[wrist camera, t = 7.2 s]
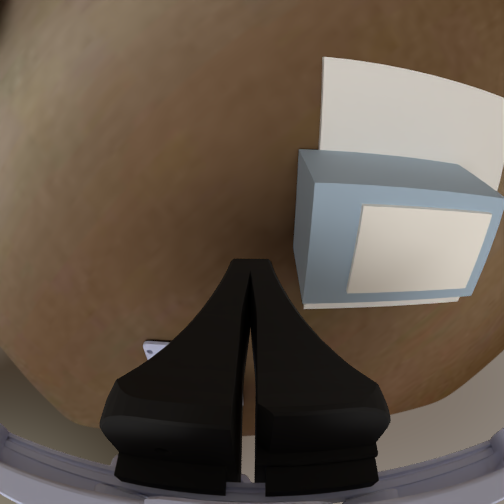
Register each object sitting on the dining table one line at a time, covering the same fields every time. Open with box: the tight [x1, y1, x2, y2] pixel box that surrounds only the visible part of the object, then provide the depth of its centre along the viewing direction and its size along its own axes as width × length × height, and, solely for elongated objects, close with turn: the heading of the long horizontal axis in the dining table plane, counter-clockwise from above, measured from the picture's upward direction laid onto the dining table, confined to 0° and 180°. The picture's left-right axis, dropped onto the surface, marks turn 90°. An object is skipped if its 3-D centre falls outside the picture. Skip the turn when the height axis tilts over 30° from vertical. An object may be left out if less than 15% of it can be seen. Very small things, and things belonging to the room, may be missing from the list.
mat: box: [303, 57, 504, 309], centre depth 18 cm, size 16×13×1 cm
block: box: [293, 149, 504, 304], centre depth 15 cm, size 6×5×10 cm
